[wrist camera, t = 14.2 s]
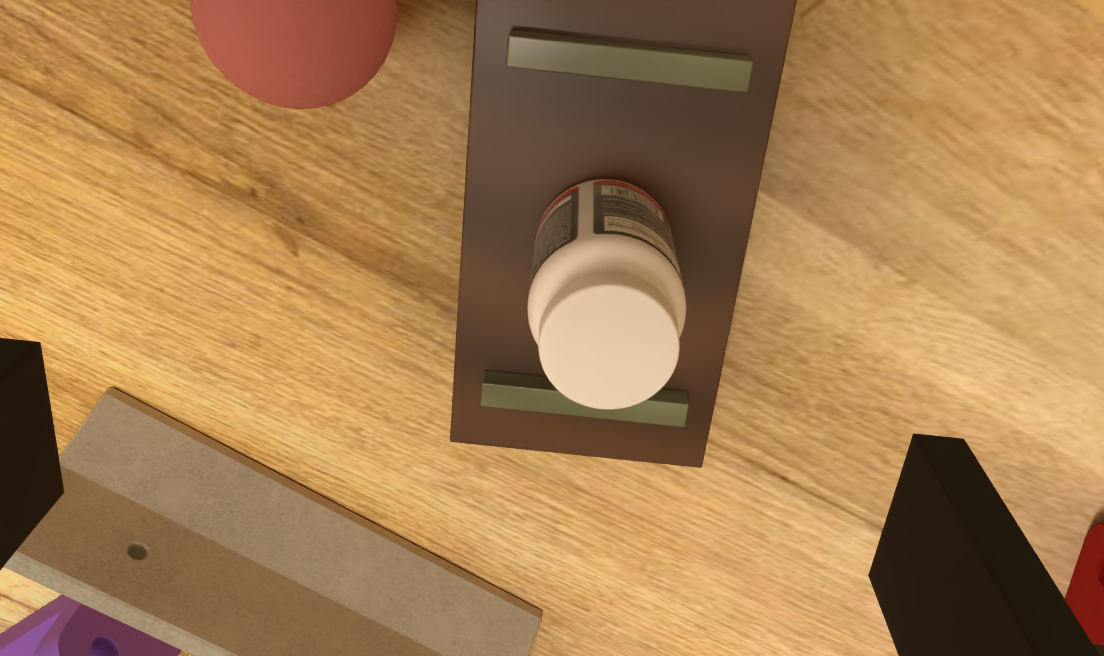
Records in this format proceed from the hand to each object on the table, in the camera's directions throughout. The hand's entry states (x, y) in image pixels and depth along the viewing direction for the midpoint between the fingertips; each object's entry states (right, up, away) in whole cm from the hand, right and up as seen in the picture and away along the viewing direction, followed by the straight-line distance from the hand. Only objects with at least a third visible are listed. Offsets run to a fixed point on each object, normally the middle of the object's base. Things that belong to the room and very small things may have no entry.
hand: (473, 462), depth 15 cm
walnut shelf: (+4, +9, +31) cm, 32 cm away
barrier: (-13, -11, +41) cm, 45 cm away
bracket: (-28, -18, +46) cm, 57 cm away
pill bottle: (+3, +6, +26) cm, 27 cm away
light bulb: (-8, +17, +27) cm, 33 cm away
